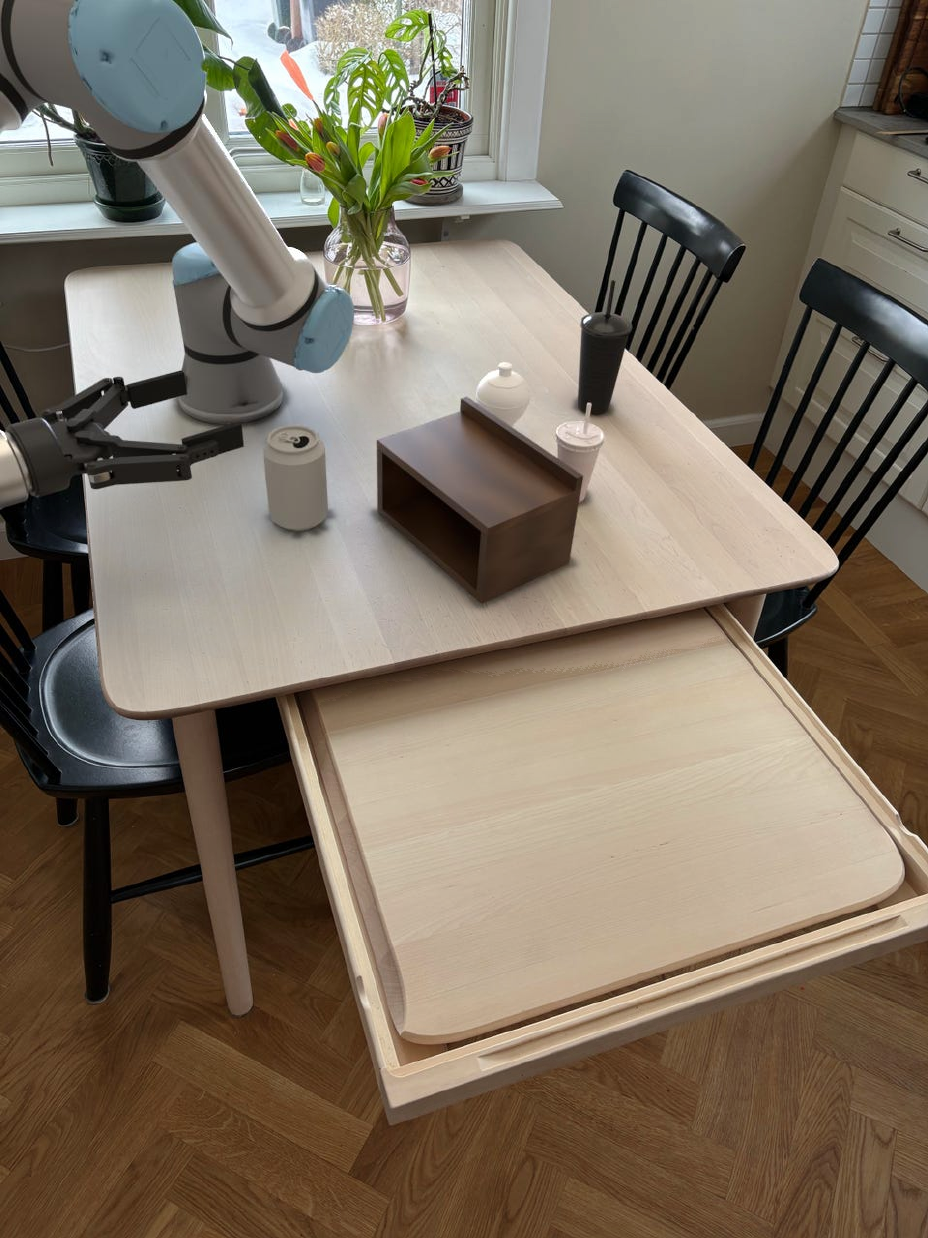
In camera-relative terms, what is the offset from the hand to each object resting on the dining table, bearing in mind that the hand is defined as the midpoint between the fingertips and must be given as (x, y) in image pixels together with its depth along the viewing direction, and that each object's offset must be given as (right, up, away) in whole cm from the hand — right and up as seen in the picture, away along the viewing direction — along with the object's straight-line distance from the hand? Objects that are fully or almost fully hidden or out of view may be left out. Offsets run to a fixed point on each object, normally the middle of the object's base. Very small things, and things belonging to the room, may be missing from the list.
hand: (212, 407), depth 107 cm
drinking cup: (+48, +9, +43) cm, 65 cm away
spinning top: (+33, +2, +34) cm, 48 cm away
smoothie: (+42, -7, +24) cm, 50 cm away
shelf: (+29, -13, +16) cm, 36 cm away
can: (+7, -11, +17) cm, 21 cm away
